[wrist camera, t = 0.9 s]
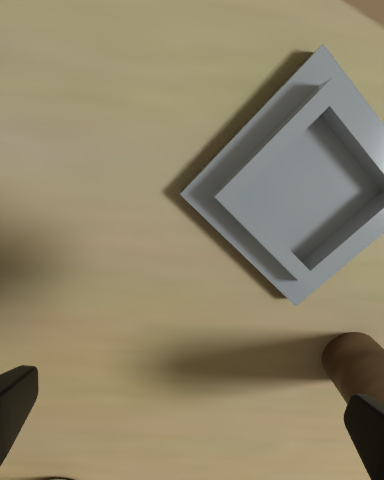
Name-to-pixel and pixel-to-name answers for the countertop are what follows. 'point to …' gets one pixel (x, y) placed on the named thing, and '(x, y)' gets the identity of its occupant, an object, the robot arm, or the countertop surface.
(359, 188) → the seat dish
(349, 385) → the pepper mill
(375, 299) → the countertop surface
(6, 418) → the robot arm
